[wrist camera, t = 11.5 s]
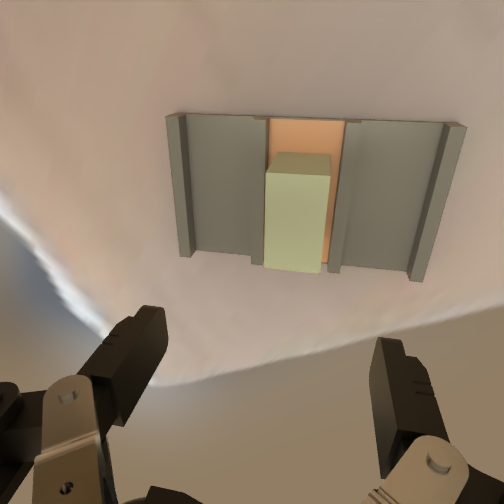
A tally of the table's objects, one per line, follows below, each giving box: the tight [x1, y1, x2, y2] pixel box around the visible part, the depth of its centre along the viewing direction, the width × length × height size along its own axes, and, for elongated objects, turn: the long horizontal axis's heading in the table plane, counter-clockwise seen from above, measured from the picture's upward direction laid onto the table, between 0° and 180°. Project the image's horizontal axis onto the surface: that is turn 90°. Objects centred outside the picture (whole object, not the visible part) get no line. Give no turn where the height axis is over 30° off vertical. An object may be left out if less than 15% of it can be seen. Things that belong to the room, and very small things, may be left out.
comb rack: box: [165, 113, 467, 282], centre depth 28 cm, size 21×12×2 cm, turn 90°
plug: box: [264, 152, 331, 274], centre depth 26 cm, size 4×7×6 cm, turn 0°
